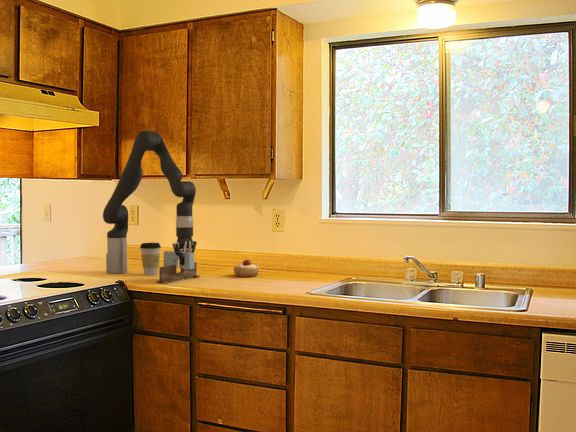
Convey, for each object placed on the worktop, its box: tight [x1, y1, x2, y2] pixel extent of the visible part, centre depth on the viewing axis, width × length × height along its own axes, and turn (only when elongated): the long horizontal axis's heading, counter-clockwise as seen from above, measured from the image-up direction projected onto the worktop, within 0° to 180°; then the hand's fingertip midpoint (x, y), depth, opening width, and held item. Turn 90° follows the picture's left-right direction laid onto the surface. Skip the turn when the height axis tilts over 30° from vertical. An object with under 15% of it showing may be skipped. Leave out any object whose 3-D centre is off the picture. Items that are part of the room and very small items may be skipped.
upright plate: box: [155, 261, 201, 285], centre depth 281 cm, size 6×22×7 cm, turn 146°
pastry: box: [233, 257, 260, 278], centre depth 293 cm, size 12×12×9 cm
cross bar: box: [162, 250, 195, 269], centre depth 281 cm, size 16×3×7 cm, turn 56°
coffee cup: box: [139, 242, 162, 277], centre depth 298 cm, size 10×10×15 cm
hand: (185, 264), depth 278 cm, fingers closed on cross bar, 3 cm apart
